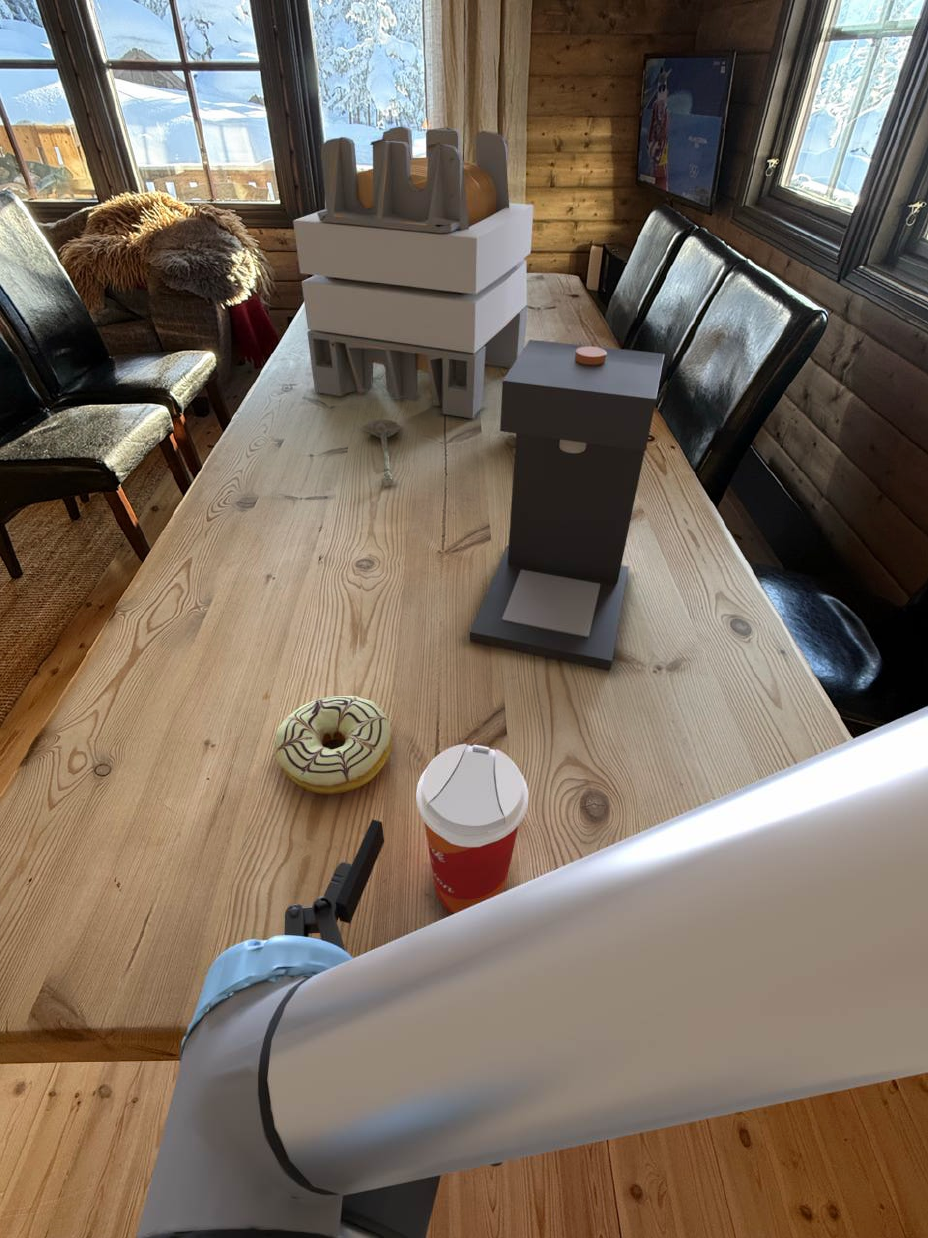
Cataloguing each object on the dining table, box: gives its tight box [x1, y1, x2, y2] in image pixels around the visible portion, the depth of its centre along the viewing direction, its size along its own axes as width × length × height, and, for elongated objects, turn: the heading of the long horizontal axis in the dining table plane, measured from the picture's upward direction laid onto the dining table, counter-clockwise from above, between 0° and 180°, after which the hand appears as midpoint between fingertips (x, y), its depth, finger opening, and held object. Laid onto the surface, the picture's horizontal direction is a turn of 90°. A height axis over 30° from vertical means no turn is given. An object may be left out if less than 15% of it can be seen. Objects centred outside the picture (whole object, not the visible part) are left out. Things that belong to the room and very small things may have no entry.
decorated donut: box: [273, 695, 393, 795], centre depth 62 cm, size 10×11×4 cm
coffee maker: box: [469, 339, 665, 671], centre depth 71 cm, size 18×16×29 cm
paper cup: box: [415, 743, 530, 915], centre depth 49 cm, size 8×8×14 cm
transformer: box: [292, 125, 534, 420], centre depth 122 cm, size 34×33×41 cm
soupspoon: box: [362, 419, 402, 487], centre depth 109 cm, size 22×3×7 cm
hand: (465, 853), depth 48 cm, fingers open, 13 cm apart
